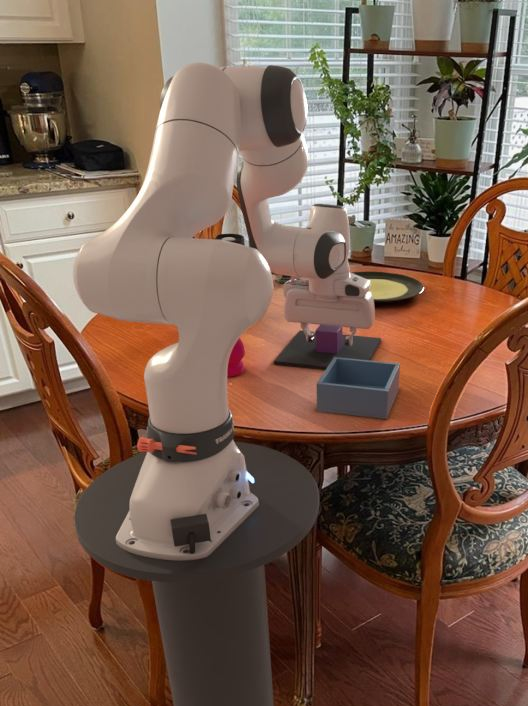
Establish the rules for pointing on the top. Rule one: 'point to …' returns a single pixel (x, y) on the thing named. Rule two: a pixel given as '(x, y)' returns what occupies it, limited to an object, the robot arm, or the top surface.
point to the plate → (391, 286)
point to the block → (328, 339)
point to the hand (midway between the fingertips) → (329, 343)
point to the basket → (358, 387)
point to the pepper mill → (236, 360)
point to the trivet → (307, 357)
